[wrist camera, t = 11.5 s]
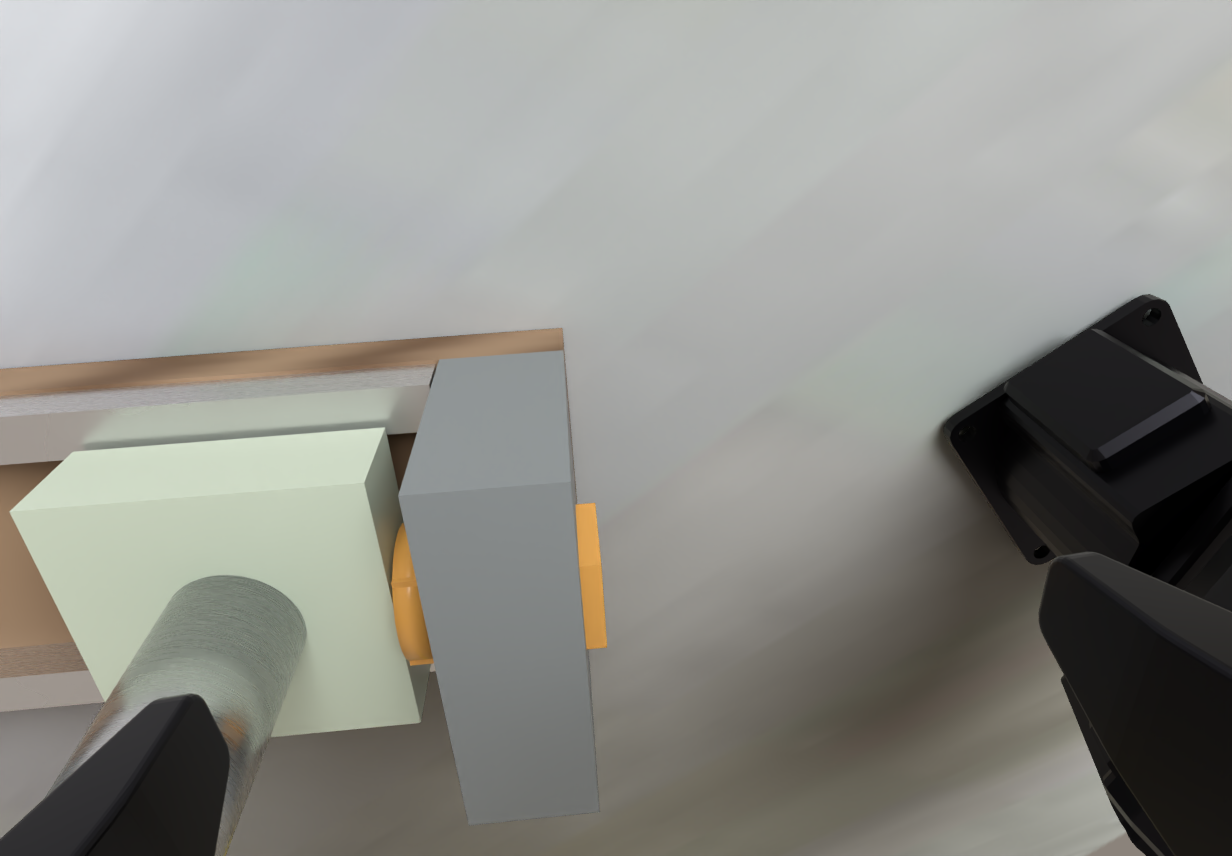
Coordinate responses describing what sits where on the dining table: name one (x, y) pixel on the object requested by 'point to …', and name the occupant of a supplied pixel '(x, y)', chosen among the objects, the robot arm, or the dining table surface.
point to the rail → (431, 508)
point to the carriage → (231, 586)
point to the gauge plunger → (410, 607)
